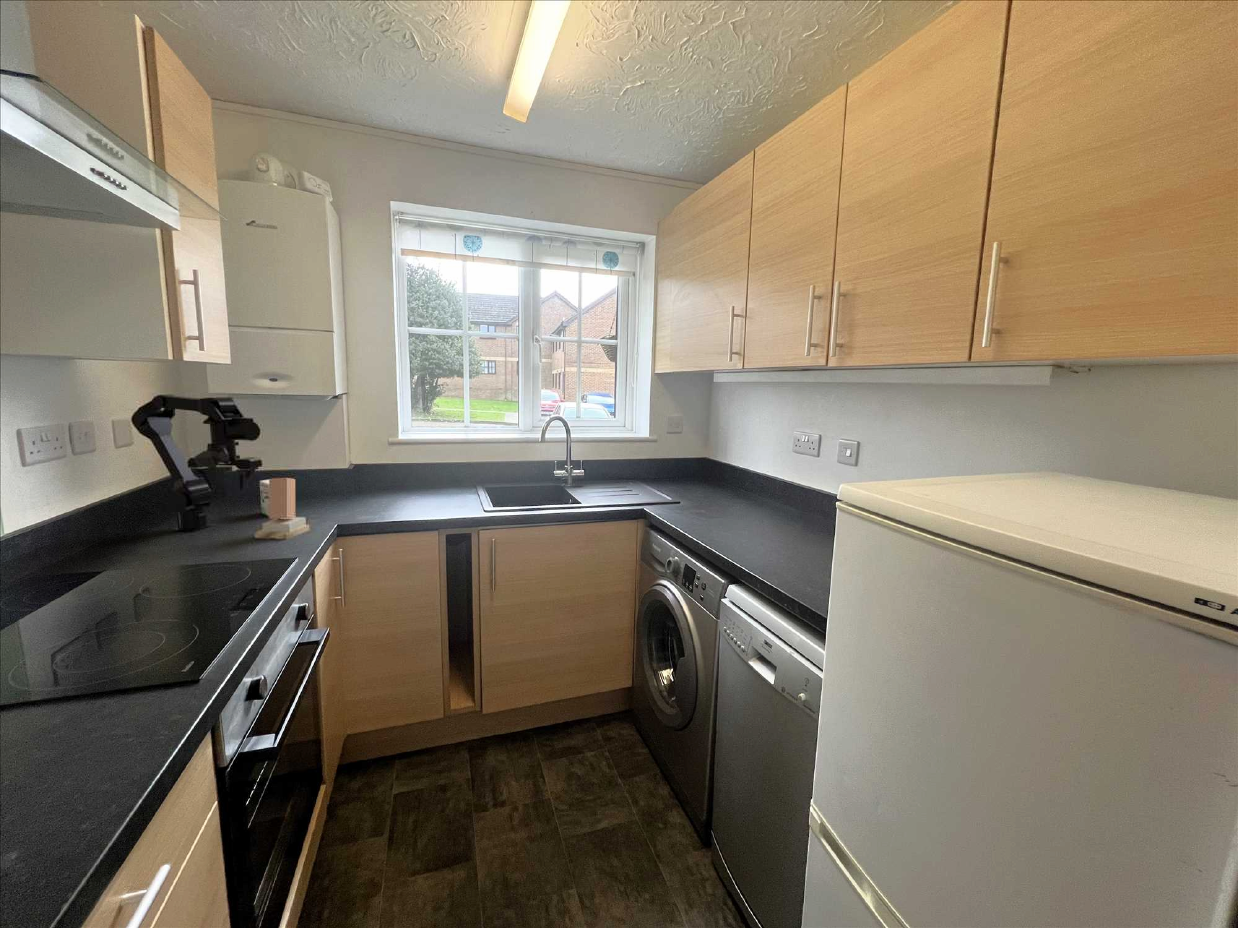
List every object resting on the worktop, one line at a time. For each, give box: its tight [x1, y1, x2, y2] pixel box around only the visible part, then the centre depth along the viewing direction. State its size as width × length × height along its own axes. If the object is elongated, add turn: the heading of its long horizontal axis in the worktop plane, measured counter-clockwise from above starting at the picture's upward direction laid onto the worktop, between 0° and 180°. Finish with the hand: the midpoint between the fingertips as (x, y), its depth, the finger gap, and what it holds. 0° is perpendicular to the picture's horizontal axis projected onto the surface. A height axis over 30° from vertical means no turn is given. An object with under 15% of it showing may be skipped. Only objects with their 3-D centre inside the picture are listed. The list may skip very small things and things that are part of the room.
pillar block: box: [268, 477, 296, 520], centre depth 157 cm, size 5×5×12 cm
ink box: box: [259, 479, 269, 517], centre depth 178 cm, size 9×5×12 cm, turn 53°
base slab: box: [254, 524, 310, 540], centre depth 157 cm, size 10×10×2 cm
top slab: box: [261, 516, 307, 532], centre depth 157 cm, size 8×8×2 cm
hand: (227, 490), depth 155 cm, fingers open, 9 cm apart
